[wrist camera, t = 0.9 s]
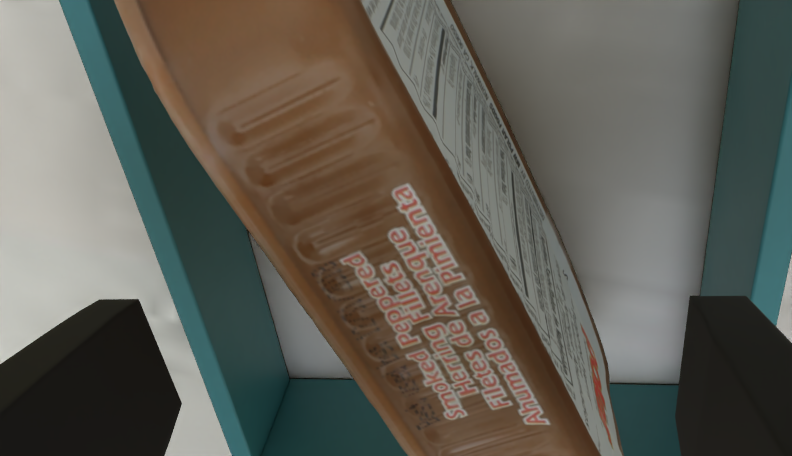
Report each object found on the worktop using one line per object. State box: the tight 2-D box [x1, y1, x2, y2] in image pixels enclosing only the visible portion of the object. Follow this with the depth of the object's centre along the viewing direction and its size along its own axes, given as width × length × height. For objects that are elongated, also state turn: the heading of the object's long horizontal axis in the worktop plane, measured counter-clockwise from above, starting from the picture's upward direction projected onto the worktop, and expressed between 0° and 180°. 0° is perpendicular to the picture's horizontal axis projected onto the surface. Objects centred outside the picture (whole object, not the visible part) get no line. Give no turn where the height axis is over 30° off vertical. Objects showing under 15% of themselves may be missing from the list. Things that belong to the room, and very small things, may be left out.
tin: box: [114, 0, 624, 456], centre depth 13 cm, size 15×3×8 cm, turn 28°
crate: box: [59, 0, 792, 456], centre depth 15 cm, size 13×19×4 cm
